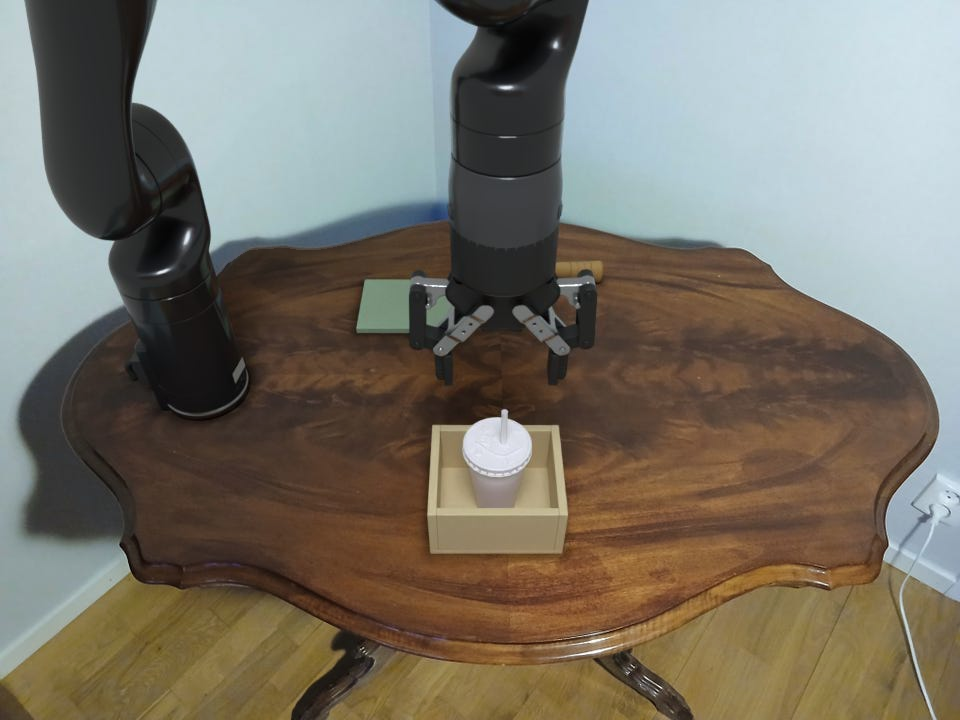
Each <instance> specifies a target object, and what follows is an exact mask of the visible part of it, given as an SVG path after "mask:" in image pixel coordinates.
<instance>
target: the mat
mask: <svg viewBox="0 0 960 720" xmlns="http://www.w3.org/2000/svg"><path fill="white" fill-rule="evenodd" d="M410 281H411V279H390V278H389V279H387V278H385V279H381V278H379V279H375V278H374V279H372V278H371V279H370V278H369V279H365V278H364V283H363V288H362V294H361V299H360V305H359V311H358V316H357V321H356V334H409V290H410ZM451 306H452V304H451V303H450V302H449V301H448V300H447V298H446V296H442V297H440V298H438V299H437V302H436V304H435V305H434V306H433V307H431V309H430V310H427V322H426V324H427V325H431V326H435V327H436V326H437V325H438V323H439V322H440V321H441V320H442V319H443V318H444V317H445V316H446V315H447V314H448V312H449V309H450V307H451Z"/></svg>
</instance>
